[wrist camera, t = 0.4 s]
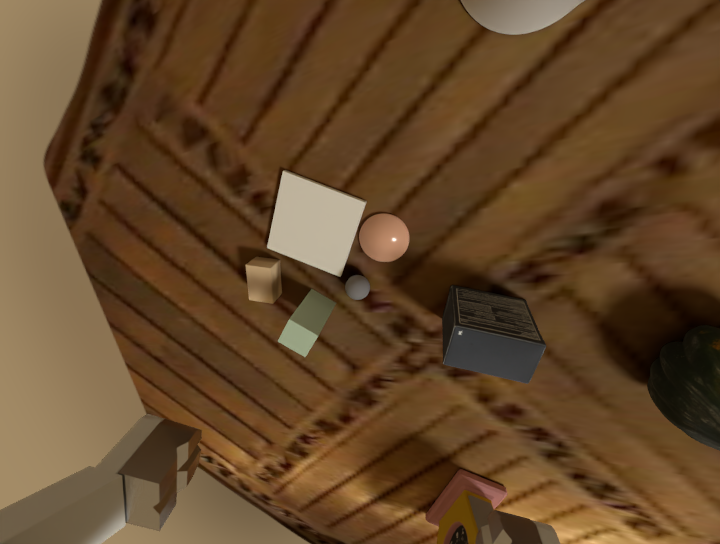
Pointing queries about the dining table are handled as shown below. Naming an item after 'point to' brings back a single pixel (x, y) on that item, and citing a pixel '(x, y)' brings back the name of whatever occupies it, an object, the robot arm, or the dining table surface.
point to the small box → (490, 334)
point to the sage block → (307, 322)
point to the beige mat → (314, 223)
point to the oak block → (264, 279)
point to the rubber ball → (357, 287)
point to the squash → (690, 384)
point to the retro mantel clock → (464, 507)
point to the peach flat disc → (384, 237)
